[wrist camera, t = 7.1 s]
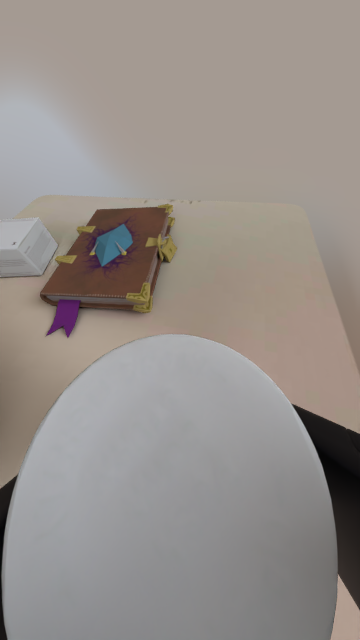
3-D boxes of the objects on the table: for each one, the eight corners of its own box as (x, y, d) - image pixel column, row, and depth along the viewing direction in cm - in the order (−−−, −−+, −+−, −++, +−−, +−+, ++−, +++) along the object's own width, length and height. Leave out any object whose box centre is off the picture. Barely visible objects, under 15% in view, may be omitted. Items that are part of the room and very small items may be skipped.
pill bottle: (128, 419, 14) (-20, 374, 4) (202, 383, 15) (225, 281, 5) (157, 532, 10) (-195, 1520, 1) (249, 474, 12) (525, 647, 2)
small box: (59, 244, 33) (39, 215, 28) (42, 276, 29) (16, 248, 24) (17, 246, 33) (-9, 218, 29) (-6, 278, 29) (-41, 251, 25)
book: (35, 338, 24) (0, 317, 20) (102, 227, 37) (89, 200, 32) (158, 349, 21) (147, 327, 17) (183, 225, 34) (181, 195, 30)
